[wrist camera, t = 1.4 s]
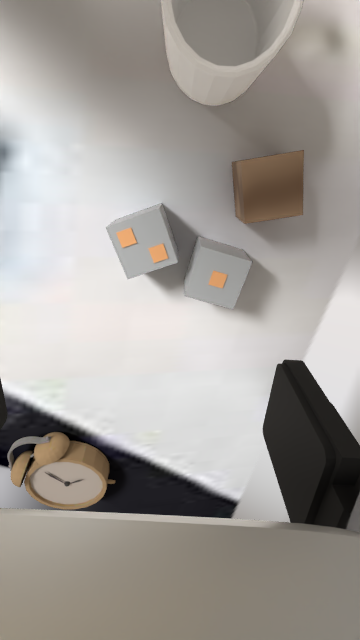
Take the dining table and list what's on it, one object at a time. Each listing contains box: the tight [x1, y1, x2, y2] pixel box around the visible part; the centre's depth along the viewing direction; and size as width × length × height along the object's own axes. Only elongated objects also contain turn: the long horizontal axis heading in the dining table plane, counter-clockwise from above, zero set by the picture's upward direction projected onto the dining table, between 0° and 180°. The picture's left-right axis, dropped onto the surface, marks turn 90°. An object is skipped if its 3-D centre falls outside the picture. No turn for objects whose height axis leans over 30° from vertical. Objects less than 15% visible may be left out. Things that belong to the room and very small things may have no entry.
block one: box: [184, 236, 252, 309], centre depth 32 cm, size 5×5×5 cm
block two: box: [106, 203, 178, 279], centre depth 31 cm, size 5×5×5 cm
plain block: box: [232, 150, 304, 224], centre depth 29 cm, size 5×5×5 cm
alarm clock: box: [8, 432, 115, 509], centre depth 45 cm, size 11×5×15 cm
